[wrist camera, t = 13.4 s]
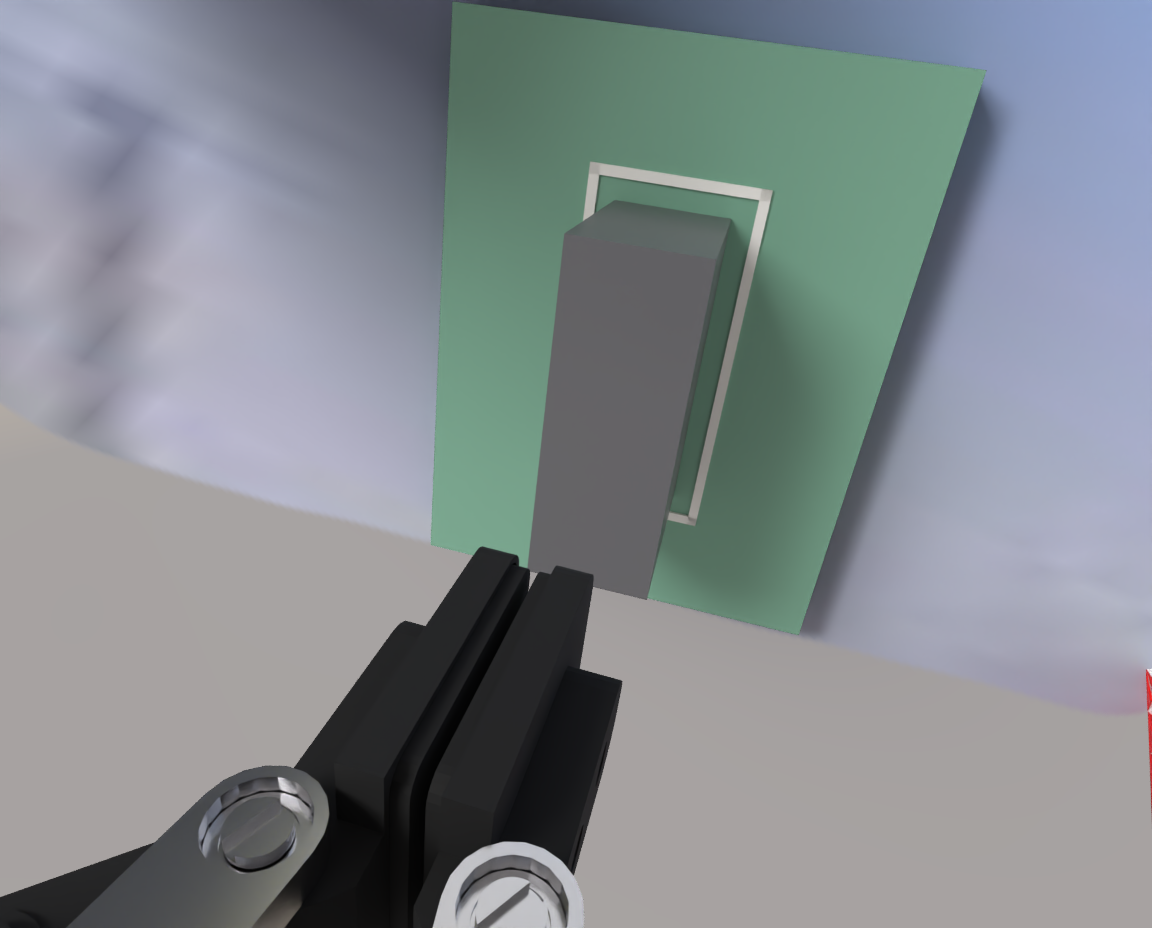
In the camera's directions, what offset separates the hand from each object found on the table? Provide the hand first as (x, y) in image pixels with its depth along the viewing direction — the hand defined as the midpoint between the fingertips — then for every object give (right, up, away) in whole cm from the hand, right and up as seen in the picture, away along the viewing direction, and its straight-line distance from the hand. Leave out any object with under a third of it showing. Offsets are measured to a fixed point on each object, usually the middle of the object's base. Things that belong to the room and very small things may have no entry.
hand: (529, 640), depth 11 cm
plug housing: (+3, +6, +13) cm, 14 cm away
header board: (+3, +7, +14) cm, 16 cm away
